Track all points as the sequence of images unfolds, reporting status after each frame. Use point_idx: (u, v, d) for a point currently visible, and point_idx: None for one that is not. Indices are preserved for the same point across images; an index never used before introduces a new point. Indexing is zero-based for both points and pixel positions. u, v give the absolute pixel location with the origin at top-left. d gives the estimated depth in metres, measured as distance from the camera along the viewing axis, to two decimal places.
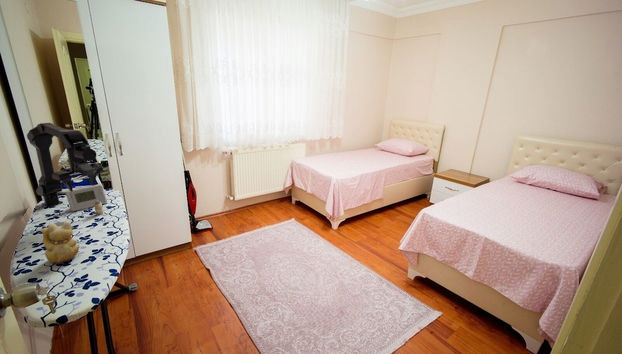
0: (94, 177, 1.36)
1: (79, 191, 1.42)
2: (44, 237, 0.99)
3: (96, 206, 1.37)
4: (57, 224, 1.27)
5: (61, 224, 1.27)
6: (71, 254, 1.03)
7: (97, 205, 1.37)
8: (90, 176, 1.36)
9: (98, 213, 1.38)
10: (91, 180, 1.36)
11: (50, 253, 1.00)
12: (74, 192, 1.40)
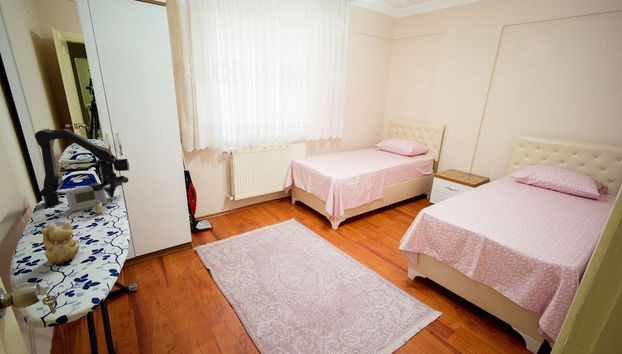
0: (113, 189, 1.56)
1: (79, 191, 1.42)
2: (44, 237, 0.99)
3: (96, 206, 1.37)
4: (57, 224, 1.27)
5: (61, 224, 1.27)
6: (71, 255, 1.03)
7: (97, 205, 1.37)
8: None
9: (98, 213, 1.38)
10: (111, 192, 1.57)
11: (50, 253, 1.00)
12: (74, 192, 1.40)
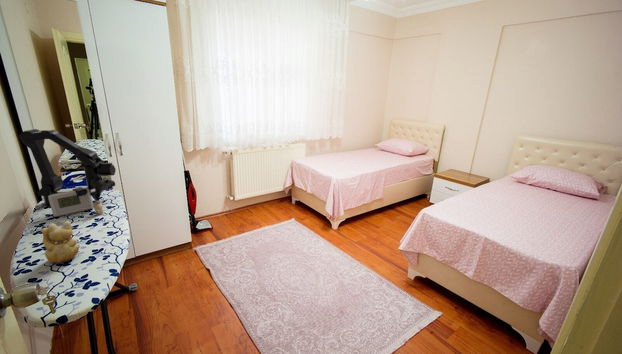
0: (99, 194, 1.49)
1: (63, 195, 1.35)
2: (44, 237, 0.99)
3: (96, 206, 1.37)
4: (57, 224, 1.27)
5: (61, 224, 1.27)
6: (71, 254, 1.03)
7: (97, 205, 1.37)
8: None
9: (98, 213, 1.38)
10: None
11: (50, 253, 1.00)
12: (57, 196, 1.34)
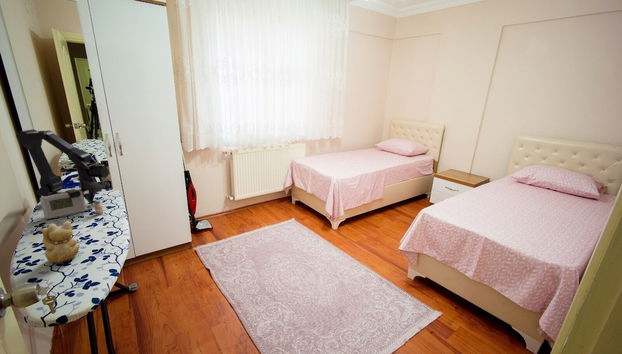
0: (93, 196, 1.46)
1: (55, 198, 1.32)
2: (44, 237, 0.99)
3: (96, 206, 1.37)
4: (57, 224, 1.27)
5: (61, 224, 1.27)
6: (71, 255, 1.03)
7: (97, 205, 1.37)
8: None
9: (98, 213, 1.38)
10: None
11: (50, 253, 1.00)
12: (49, 198, 1.31)
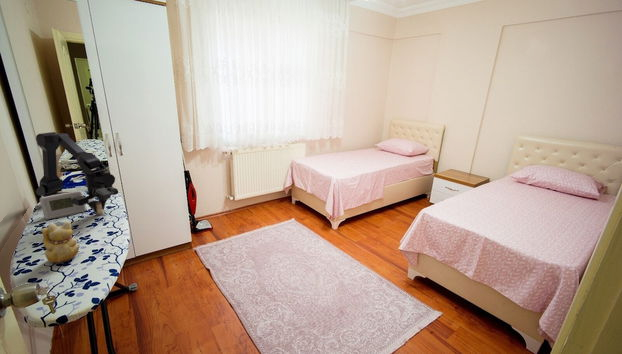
0: (104, 202, 1.40)
1: (55, 198, 1.32)
2: (44, 237, 0.99)
3: (96, 206, 1.37)
4: (57, 224, 1.27)
5: (61, 224, 1.27)
6: (71, 254, 1.03)
7: (97, 205, 1.37)
8: (100, 201, 1.40)
9: (98, 213, 1.38)
10: None
11: (50, 253, 1.00)
12: (49, 199, 1.31)
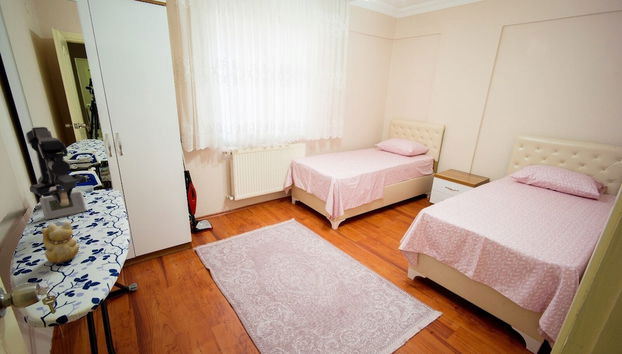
0: (69, 191, 1.24)
1: None
2: (44, 237, 0.99)
3: (60, 195, 1.22)
4: (57, 224, 1.27)
5: (61, 224, 1.27)
6: (71, 255, 1.03)
7: (61, 195, 1.21)
8: (65, 190, 1.24)
9: (63, 203, 1.23)
10: None
11: (50, 253, 1.00)
12: (49, 199, 1.31)
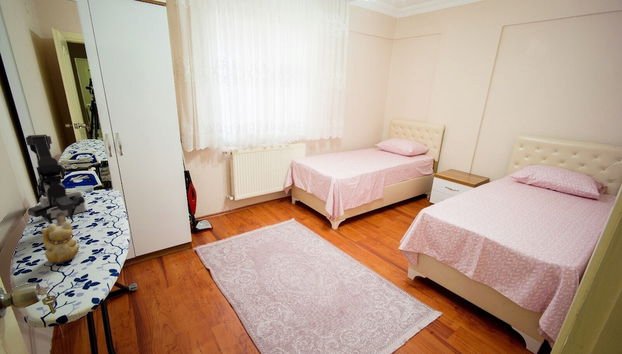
0: (73, 210, 1.27)
1: None
2: (44, 237, 0.99)
3: (58, 218, 1.23)
4: (57, 224, 1.27)
5: None
6: (71, 255, 1.03)
7: (59, 218, 1.23)
8: (68, 209, 1.27)
9: None
10: (69, 213, 1.27)
11: (50, 253, 1.00)
12: None
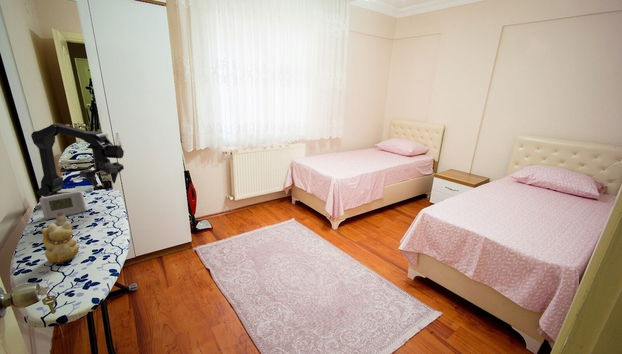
0: (115, 175, 1.48)
1: (54, 198, 1.32)
2: (44, 237, 0.99)
3: (58, 218, 1.23)
4: (57, 224, 1.27)
5: None
6: (71, 254, 1.03)
7: (59, 218, 1.23)
8: (112, 174, 1.48)
9: None
10: (113, 178, 1.48)
11: (50, 253, 1.00)
12: (49, 199, 1.31)
